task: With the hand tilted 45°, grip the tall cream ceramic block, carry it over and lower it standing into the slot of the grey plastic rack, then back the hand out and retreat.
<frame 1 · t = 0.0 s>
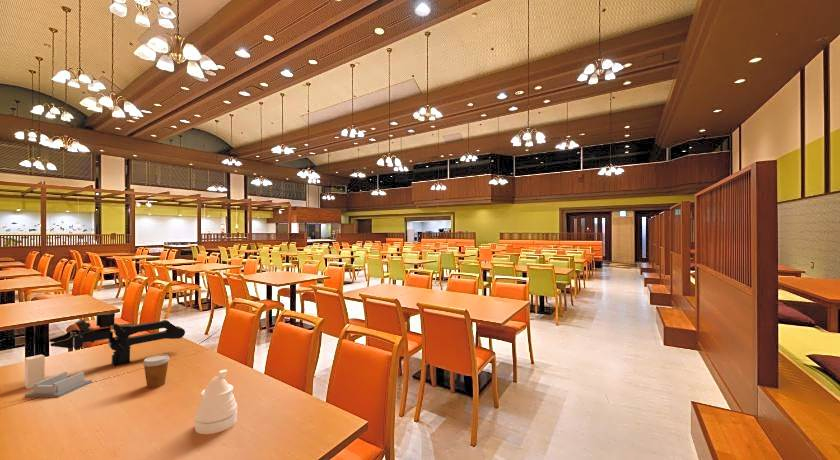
hand: (49, 342, 158), 17 cm above the table, tool horizontal, fingers open, 9 cm apart
honey pot: (216, 424, 121), on the table
slot rack: (60, 389, 147), on the table
cream block: (34, 385, 150), on the table
disposable coffee cup: (156, 385, 151), on the table
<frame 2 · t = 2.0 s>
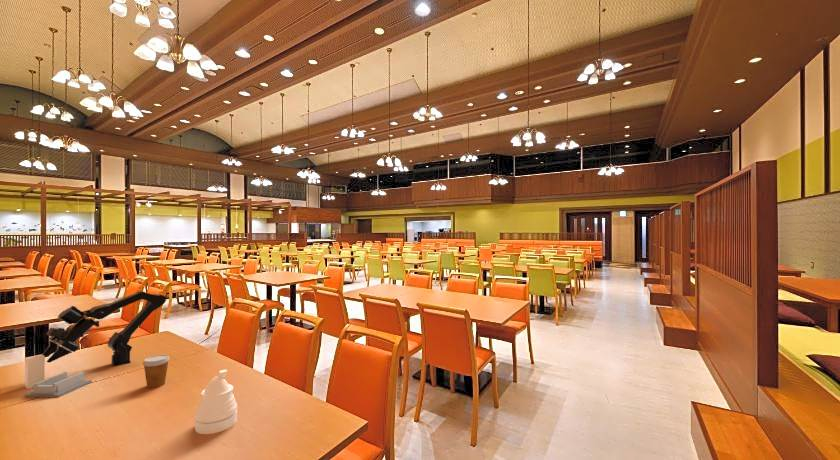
hand: (44, 360, 153), 10 cm above the table, tool tilted 45°, fingers open, 9 cm apart
nothing on the table moved.
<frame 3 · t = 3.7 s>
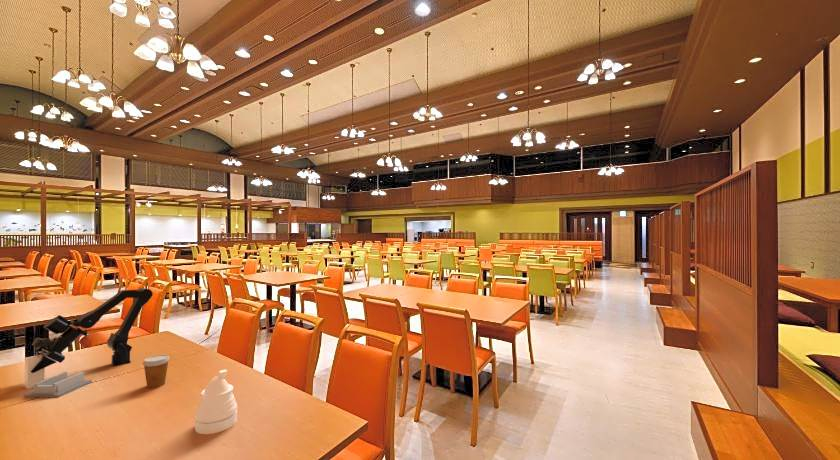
hand: (30, 371, 149), 7 cm above the table, tool tilted 45°, fingers closed on cream block, 4 cm apart
cream block: (34, 385, 150), on the table, touching gripper
everything else where it was.
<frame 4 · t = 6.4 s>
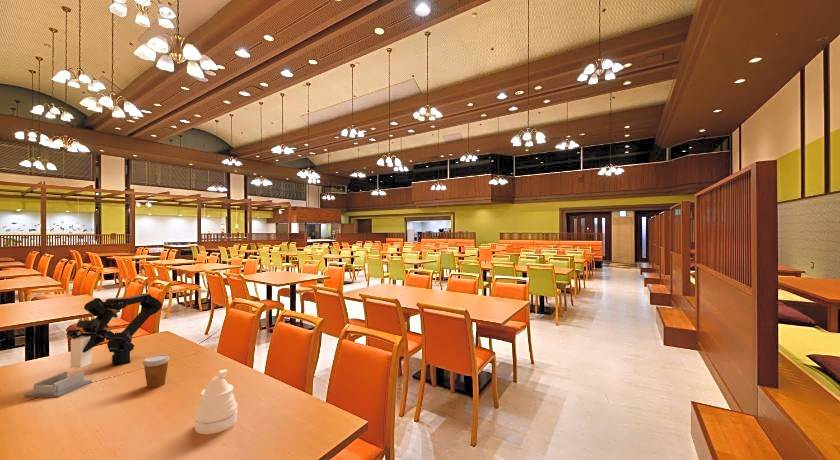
hand: (78, 352, 155), 13 cm above the table, tool tilted 45°, fingers closed on cream block, 4 cm apart
cream block: (81, 365, 156), point 7 cm above the table, touching gripper
everything else where it was.
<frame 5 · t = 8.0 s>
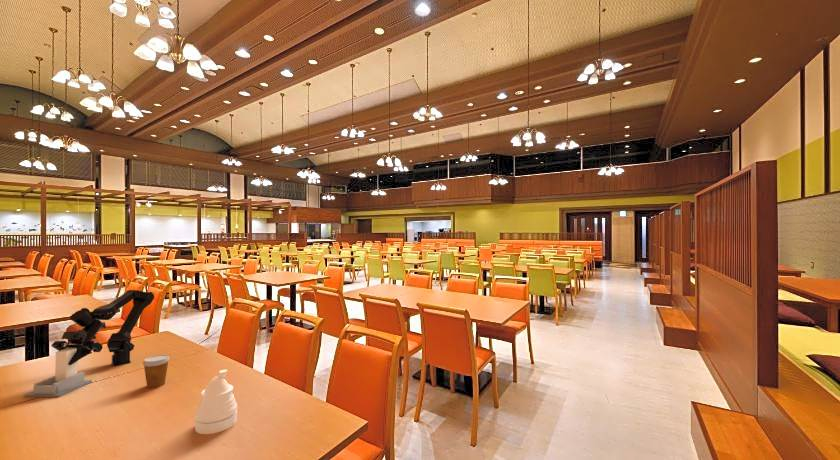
hand: (63, 364, 148), 10 cm above the table, tool tilted 45°, fingers closed on cream block, 4 cm apart
cream block: (66, 378, 149), point 3 cm above the table, touching gripper
everything else where it was.
when the fingers open (8 cm above the table, at t = 9.1 s): cream block stays where it is, resting on slot rack.
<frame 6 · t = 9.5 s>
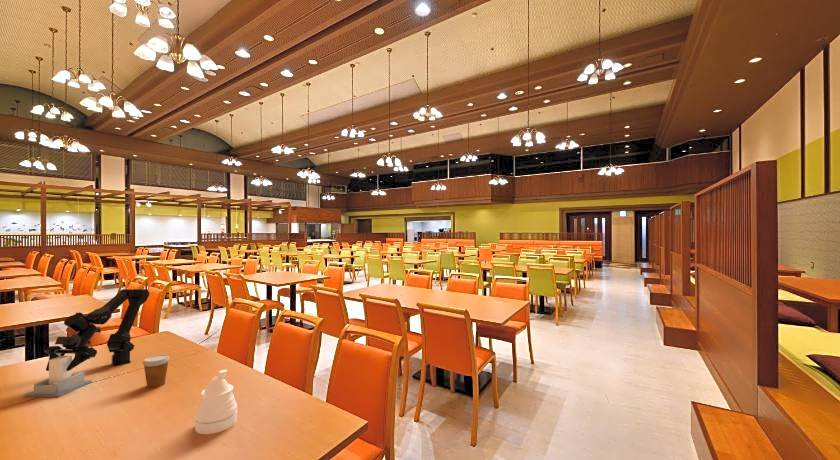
hand: (57, 370, 145), 9 cm above the table, tool tilted 45°, fingers open, 8 cm apart
cream block: (60, 386, 147), point 1 cm above the table, touching slot rack
everything else where it was.
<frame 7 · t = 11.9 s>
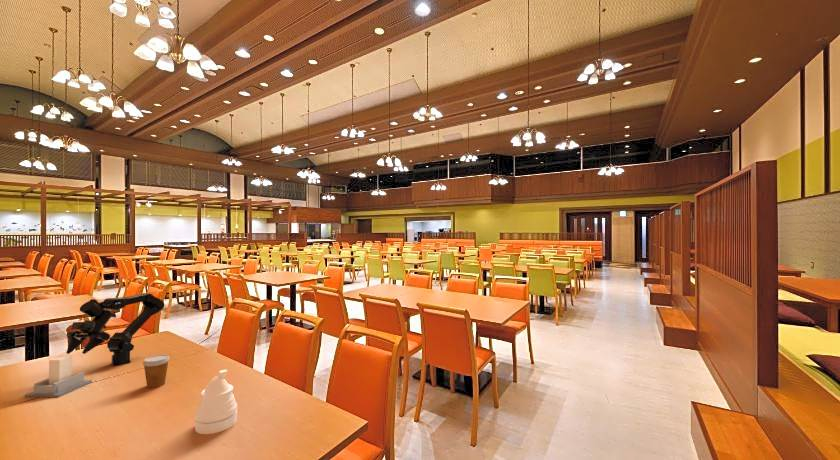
hand: (75, 353, 155), 12 cm above the table, tool tilted 40°, fingers open, 9 cm apart
nothing on the table moved.
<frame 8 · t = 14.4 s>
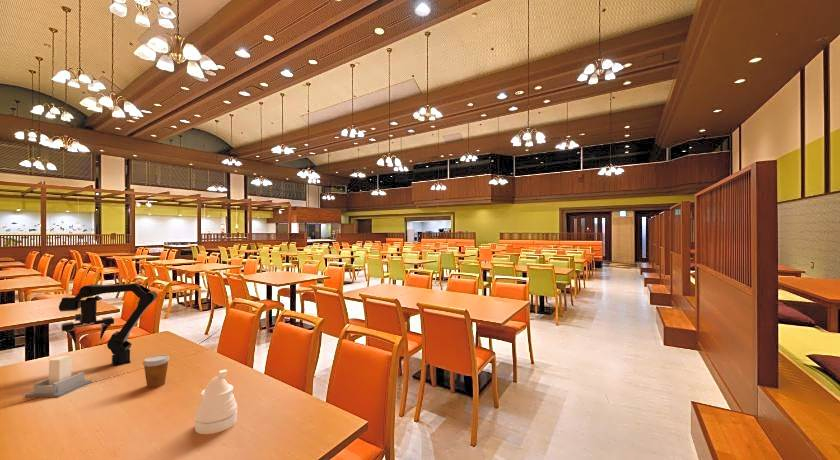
hand: (88, 340, 172), 13 cm above the table, tool pointing down, fingers open, 9 cm apart
nothing on the table moved.
at the end: cream block 0.0 cm off-centre on the slot rack, point 1.0 cm above the slot rack's base; cream block tilted 0°; the gripper is holding nothing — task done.
